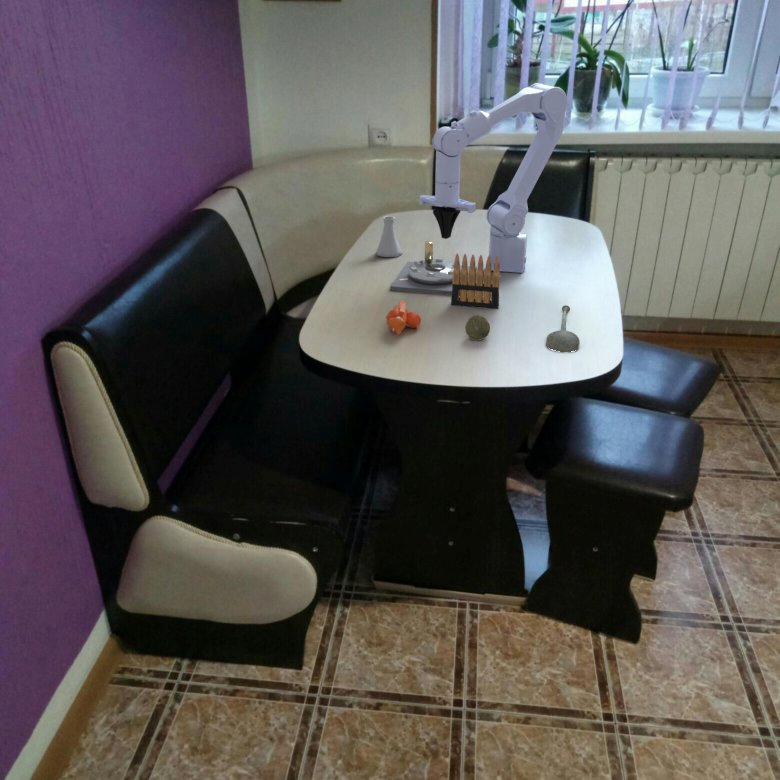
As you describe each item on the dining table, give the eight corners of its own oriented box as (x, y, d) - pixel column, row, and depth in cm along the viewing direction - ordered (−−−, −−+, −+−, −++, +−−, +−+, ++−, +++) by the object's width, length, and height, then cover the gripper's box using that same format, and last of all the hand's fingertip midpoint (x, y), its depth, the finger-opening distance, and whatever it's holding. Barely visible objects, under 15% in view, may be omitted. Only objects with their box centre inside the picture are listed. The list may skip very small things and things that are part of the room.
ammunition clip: (450, 305, 165) (452, 254, 159) (452, 302, 166) (453, 251, 160) (498, 309, 162) (501, 257, 157) (499, 306, 164) (502, 254, 158)
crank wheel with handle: (469, 281, 174) (470, 254, 171) (417, 287, 171) (417, 259, 168) (451, 263, 185) (451, 238, 182) (402, 269, 182) (402, 243, 179)
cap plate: (476, 270, 184) (476, 266, 184) (465, 296, 169) (465, 291, 169) (407, 265, 188) (407, 261, 188) (390, 290, 173) (390, 285, 173)
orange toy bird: (393, 291, 157) (388, 313, 147) (425, 302, 158) (423, 324, 147) (386, 311, 160) (380, 334, 149) (418, 322, 160) (415, 346, 150)
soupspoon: (543, 356, 144) (577, 360, 143) (545, 341, 142) (579, 345, 141) (551, 310, 162) (581, 313, 161) (553, 296, 161) (583, 299, 159)
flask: (399, 259, 193) (399, 221, 188) (373, 257, 194) (372, 220, 189) (404, 250, 199) (404, 214, 194) (379, 249, 201) (378, 213, 196)
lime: (492, 340, 148) (493, 318, 146) (471, 344, 147) (472, 321, 144) (482, 332, 152) (483, 309, 149) (461, 335, 150) (462, 313, 148)
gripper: (412, 180, 172) (412, 236, 179) (466, 188, 165) (464, 246, 171) (428, 175, 177) (427, 229, 184) (481, 182, 170) (478, 239, 176)
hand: (446, 237), depth 178 cm, fingers closed
